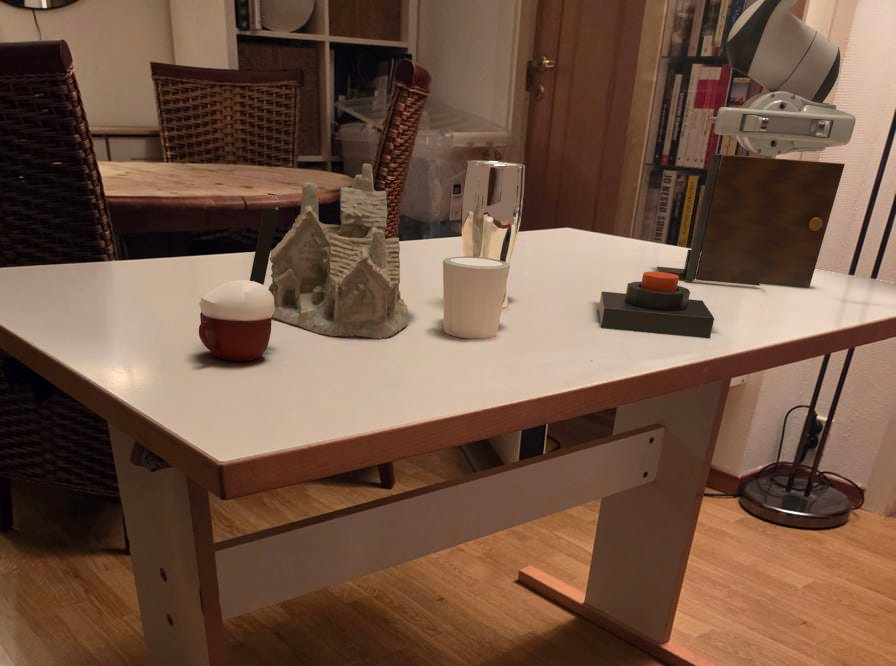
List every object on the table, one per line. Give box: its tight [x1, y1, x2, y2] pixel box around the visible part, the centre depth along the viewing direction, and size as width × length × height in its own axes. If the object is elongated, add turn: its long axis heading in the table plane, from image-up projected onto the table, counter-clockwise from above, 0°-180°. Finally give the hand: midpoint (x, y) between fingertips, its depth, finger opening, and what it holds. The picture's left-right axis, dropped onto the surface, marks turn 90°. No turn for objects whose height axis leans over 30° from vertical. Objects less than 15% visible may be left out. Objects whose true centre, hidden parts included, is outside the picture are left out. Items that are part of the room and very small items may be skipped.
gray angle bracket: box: [655, 249, 693, 282], centre depth 128 cm, size 5×4×4 cm
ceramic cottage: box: [268, 163, 409, 340], centre depth 89 cm, size 16×16×15 cm
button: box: [641, 271, 680, 292], centre depth 98 cm, size 4×4×2 cm
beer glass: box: [460, 159, 526, 310], centre depth 100 cm, size 7×7×15 cm
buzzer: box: [598, 281, 715, 339], centre depth 99 cm, size 12×10×4 cm
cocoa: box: [198, 205, 280, 362], centre depth 75 cm, size 10×6×12 cm, turn 126°
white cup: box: [442, 255, 511, 339], centre depth 89 cm, size 7×7×7 cm
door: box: [685, 153, 846, 289], centre depth 121 cm, size 18×2×16 cm, turn 81°
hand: (792, 126), depth 126 cm, fingers open, 7 cm apart
